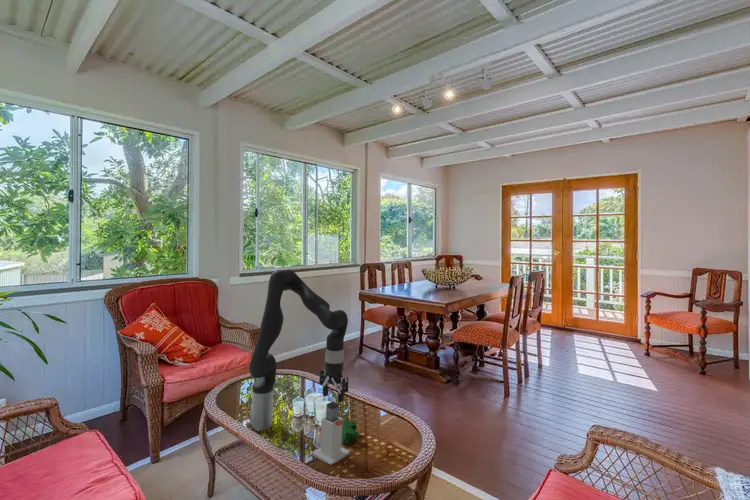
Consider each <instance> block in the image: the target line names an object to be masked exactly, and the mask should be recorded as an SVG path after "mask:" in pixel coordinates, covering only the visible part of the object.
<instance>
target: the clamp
mask: <svg viewBox="0 0 750 500" xmlns="http://www.w3.org/2000/svg"><path fill="white" fill-rule="evenodd" d="M342 421H343V424H342V442H341V445H348V443H349V441H351V442H356V441H357V438H358V437H359V435H360V433H359V430H356V429H357V427H358V426H357V423H356V422H355V421H354V420H353V421H352V420H348V419H347V420H346V419H342Z"/></svg>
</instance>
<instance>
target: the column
mask: <svg viewBox="0 0 750 500" xmlns="http://www.w3.org/2000/svg"><path fill="white" fill-rule="evenodd" d="M325 405H326V409H325V412H326V413H325V417H326V420H328V421H330V422H334V421H336V420H338V416H339V414H340V413H339V409H340V404H339V402H338V403H337V402H335V401H330V402H328V403H327V404H325ZM339 417H340V416H339Z"/></svg>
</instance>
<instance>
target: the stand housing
mask: <svg viewBox="0 0 750 500" xmlns="http://www.w3.org/2000/svg"><path fill="white" fill-rule="evenodd" d="M343 420H344V418H343V417H340V416H338V420H336V421H334V422H330V421H328V420H326V416H324V417H322V418H321V426H320V427H321V428H320V447H318V448H317V449H315V450H313V451H311V456H313V457H315V458H316V459H319V460H320V461H321V460H322V461H321V462H323V461H324V462H323V463H325V462H326V463H328V464H330V465H331V464H333V465H334V463H335V464H336V463H338V462H339V461H341V460H342V459H344V458H345V457H347V456H348V455H350V453H351V451H349V450H348V449H346V448H344V447H342V424H343ZM326 463H325V464H326ZM328 464H327V465H328ZM330 465H329V466H330Z"/></svg>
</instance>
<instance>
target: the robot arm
mask: <svg viewBox="0 0 750 500" xmlns="http://www.w3.org/2000/svg"><path fill="white" fill-rule="evenodd" d="M267 286H268V287H267V296H266V299H265V300H266V302H265V305H264V311H263V315H262V319H261V323H260V327H259V332H258V336H257V340H256V344H255V348H254V350H253V353H252V355H251V358H250V361H249V367H248V368H249V369H248V370H249V374H250V376H251V377H252V378H254V379H257V380H255V382H253V384H252V386H251V387H252V388H251V389H252V390H251V391H252V393H251V405H250V417H249V418H250V421H249V423H250V422H251V425H252V427H253V428H255V429H259V430H264V429H267V430H269V429H270V427H271V428H272V426H273V425H272V424H273V407H274V406H273V404H274V403H273V402H274V400H273V399H274V398H273V397H274V387H275V383H276V375H277V361H276V357H275V356H274V355H273V354H271V353H269V351H270V349H271V348H272V346H273V345H274V343H275V342H276V341H277V340H278V338H279V336H280V334H281V331H282V329H283V323H284V314H283V310H282V307H281V300H282V296H283V293H284V291H292V292H293V293H295V294H297V295H298V296H299V297H300V299H301V301H302V304H303V305H304V307H305V308H306V309H307V310H309V311H310V312H311V313H313V314H314V315H315V316H316V317H317V318H318V320H319V321H320V322H321V324H322V326H324V327H325V328H326V329H328V330H331V332H330V333H329V334H328V335H327V337H326V347H325V348H326V349H325V357H324V369H321V370H320V371H319V381H318V383H319V385H321V387H322V396H323V397H327V396H328V395H329V385H332V386H334V387H335V389H337V392H338V394H337V402H338V404H339V403H342V402H343V401H344V400H345V399H344V398H345V394H346V393H348V392H349V377H348V376H345V377H344V376H343V372H344V358H345V353H344V351H345V350H344V345H345V341H344V340H345V337H346V336H345V335H346V332H347V328H348V324H349V317H348V314H347V312H345V311H344V310H342V309H338V310H334V311H332V310H330V309H331V305H330V304H329V303H328V301H327V300H325V299H324V298H322V297H321V296H320V295H318V294H317V293H316V292H315V291H314V290H312V289H311V288H310V287H309V286H308V285H307V284H306V283H305V282H304V281H303V279H301V278H300V277H299V275H298V274H297V273H296V272H294V271H293V270H291V269H277V270H274V271H273V272H272V273H271V274H270V277H269V280H268V285H267ZM251 425H250V426H251ZM271 425H272V426H271ZM268 428H269V429H268ZM264 431H265V430H264Z"/></svg>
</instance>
